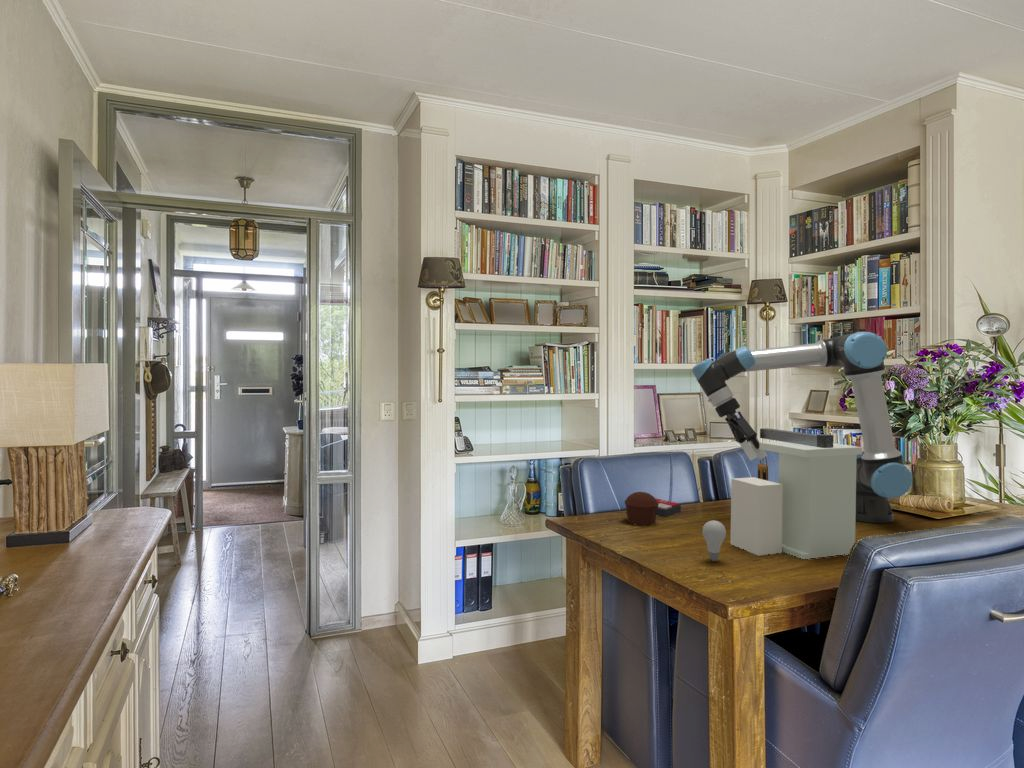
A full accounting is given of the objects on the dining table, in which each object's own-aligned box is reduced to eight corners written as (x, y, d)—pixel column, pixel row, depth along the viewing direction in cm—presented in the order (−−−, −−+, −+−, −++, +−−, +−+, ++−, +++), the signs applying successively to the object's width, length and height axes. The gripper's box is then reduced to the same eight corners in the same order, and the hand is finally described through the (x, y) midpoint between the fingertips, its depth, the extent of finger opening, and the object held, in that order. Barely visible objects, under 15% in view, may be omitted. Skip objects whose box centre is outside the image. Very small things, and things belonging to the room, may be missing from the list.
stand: (758, 542, 190) (759, 442, 189) (811, 537, 197) (813, 440, 196) (803, 560, 173) (804, 449, 172) (860, 553, 179) (862, 447, 179)
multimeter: (789, 501, 249) (789, 450, 249) (762, 500, 251) (762, 450, 251) (781, 494, 264) (781, 446, 263) (755, 493, 266) (756, 445, 265)
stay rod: (759, 438, 202) (759, 427, 202) (768, 437, 203) (768, 427, 203) (823, 447, 177) (823, 435, 177) (833, 447, 178) (833, 435, 178)
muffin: (665, 525, 211) (665, 495, 211) (634, 527, 208) (635, 497, 208) (647, 517, 222) (647, 488, 222) (618, 519, 219) (618, 490, 219)
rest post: (730, 544, 188) (731, 478, 188) (753, 542, 191) (753, 477, 190) (758, 555, 177) (759, 485, 176) (781, 553, 179) (782, 484, 179)
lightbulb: (698, 558, 175) (698, 518, 174) (720, 557, 175) (720, 517, 175) (707, 565, 168) (707, 523, 168) (729, 564, 169) (730, 523, 169)
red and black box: (665, 507, 222) (629, 499, 233) (665, 520, 223) (628, 511, 233) (681, 503, 230) (645, 495, 241) (680, 514, 231) (644, 506, 241)
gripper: (708, 411, 226) (740, 464, 222) (721, 403, 202) (757, 462, 198) (727, 401, 226) (759, 454, 222) (742, 392, 202) (779, 451, 197)
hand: (758, 458), depth 210 cm, fingers open, 13 cm apart
